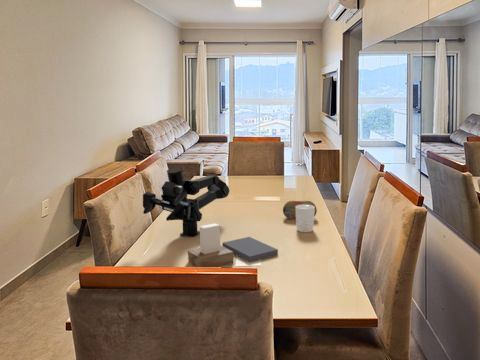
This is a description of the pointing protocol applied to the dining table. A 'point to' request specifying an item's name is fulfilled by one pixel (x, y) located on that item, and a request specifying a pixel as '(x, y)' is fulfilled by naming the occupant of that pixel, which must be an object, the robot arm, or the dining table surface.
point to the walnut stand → (210, 258)
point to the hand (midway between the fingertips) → (155, 216)
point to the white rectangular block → (210, 238)
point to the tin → (290, 208)
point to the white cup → (305, 217)
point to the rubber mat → (250, 249)
